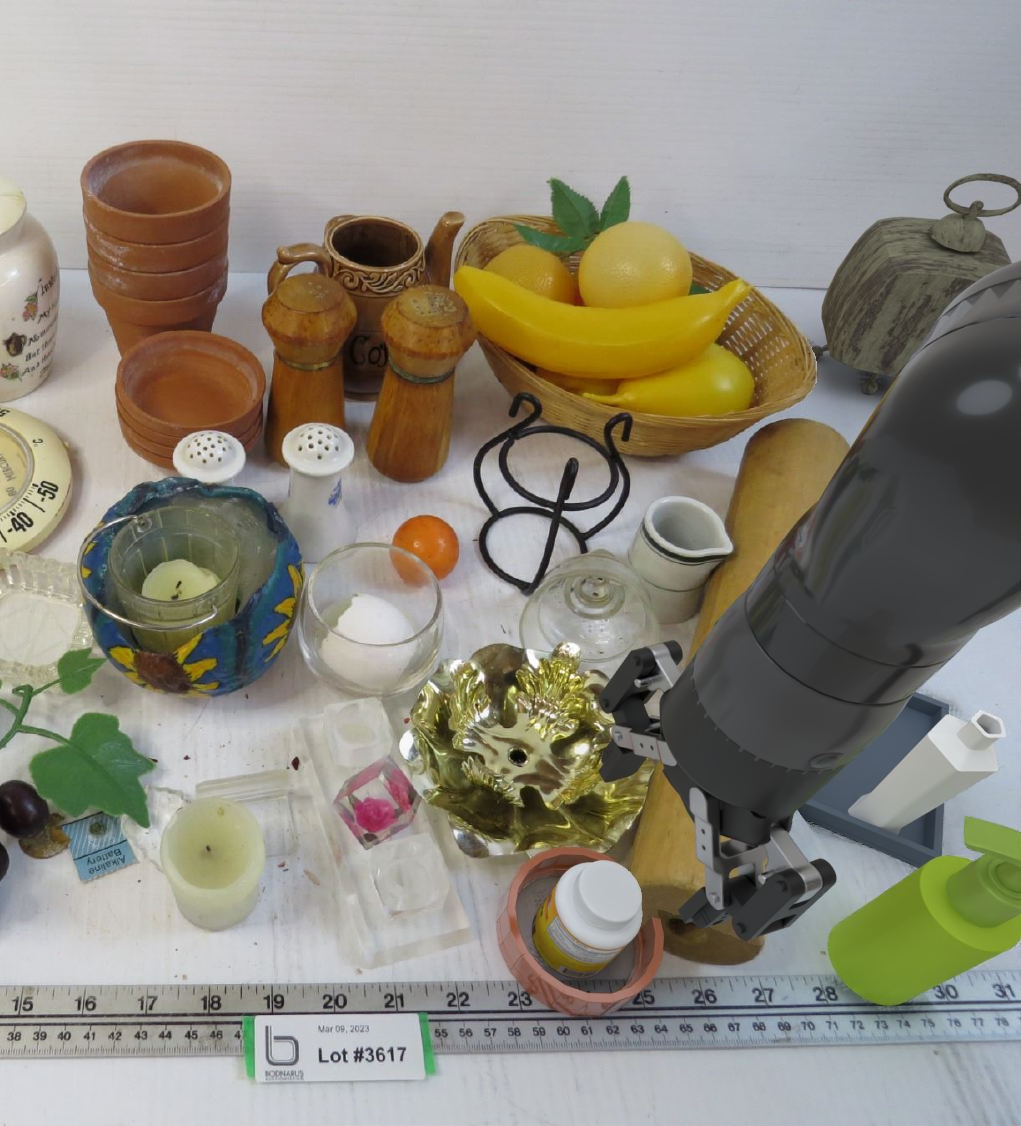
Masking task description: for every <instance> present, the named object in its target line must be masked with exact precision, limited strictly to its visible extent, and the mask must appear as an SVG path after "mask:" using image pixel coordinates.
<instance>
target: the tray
mask: <svg viewBox="0 0 1021 1126" xmlns="http://www.w3.org/2000/svg"><path fill="white" fill-rule="evenodd" d="M947 714H949V715H950V704H949V703H946V702H943V701H941V700H938V699H936V698H933V697H930V696H929V695H925V694H923V693H921V692H920V693H919V692H918V691H916V692H915V693H914V694H913V695H912V697H911V698H910V700H909V701H908V702H907V704H906V705H905V707H904V708H903V710H902V711H901V713H900V714H899V715H898V716H897V718H896V719H895V720H894V721H893V722H892V723H891V725H890V726H889V727H888V728H887V729H886V730H885V731H884V732H883V733H882V734H881V735H879V736H878V737H877V738H876V739H875V740H874V741H873V742H872V743H871V744H870V745H869V746H867V747H866V748H865V749H864V750H863V751H862V752H861V753H860V754H859V755H858V756H857V757H856V758H854V759H853V760H852V761H851V762H850V763H849V764H848V765H847V766H846V767H845V768H844V769H842V770H841V771H840V772H839V773H838V774H837V775H836V776H835V777H834V778H833V779H832V780H830V781H829V782H828V783H827V784H826V785H825V786H824V787H823V788H822V789H821V790H820V791H819V792H817V793H816V794H815V795H814V796H813V797H812V798H811V799H810V800H809V801H808V802H806V803H805V804H804V805H803V806H801V807H800V808H799V809H798V810H797V812H798V813H799V814H800V816H801V817H802V819H803V820H805V821H808V822H810V823H812V824H815V825H816V826H820V827H822V828H824V829H825V830H829V831H831V832H833V833H836V834H838V835H840V836H842V837H845V838H848V839H849V840H852V841H855V842H857V843H859V844H862V845H864V846H866V847H869V848H871V849H872V850H873V849H874V850H876V851H878V852H881V853H883V854H885V855H888V856H889V857H893V858H895V859H897V860H899V861H902V862H904V863H906V864H909V865H911V866H913V867H916V868H917V869H918V868H920V867H921V866H923V865H924V864H926V863H927V862H929V861H930V860H932V859H934V858H936V857H940V856H943V837H944V836H943V835H944V819H945V817H944V816H945V802H944V803H943V804H941V805H939V806H938V807H936V808H934V809H933V810H931V811H929V812H928V813H926V814H924V815H922V816H921V817H919V818H917V819H916V820H914V821H912V822H911V823H909V824H907V825H906V826H904V827H902V828H901V830H900V832H899V834H898V835H896V834H893V833H891V832H889V831H886V830H884V829H881V828H879V827H877V826H874V825H872V824H870V823H867V822H865V821H862V820H860V819H858V818H855V817H853V816H850V814H849V813H848V809H849V808H850V807H851V806H852V805H853V804H854V803H855V802H856V801H857V800H858V799H859V798H860V797H861V796H863V795H866V794H869V793H871V792H872V791H873V790H874V789H875V788H876V787H877V786H878V785H879V784H880V783H881V782H882V781H883V780H884V779H885V777H886V776H887V775H888V774H889V773H890V772H891V771H892V770H893V769H894V768H895V767H896V766H897V765H898V764H899V763H900V762H901V761H902V760H903V759H904V758H905V757H906V756H907V755H908V753H909V752H910V751H911V750H912V749H913V748H914V747H915V746H916V745H917V744H918V743H919V742H920V741H921V740H922V739H923V738H924V737H925V736H926V735H927V734H928V733H929V732H930V731H931V730H932V729H933V728H934V727H935V726H936V725H937V724H938V723H939V722H940V721H941V720H942V719H943V718H944V717H945V715H947Z"/></svg>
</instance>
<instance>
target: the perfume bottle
mask: <svg viewBox="0 0 1021 1126" xmlns="http://www.w3.org/2000/svg"><path fill="white" fill-rule="evenodd" d="M1004 738H1007V732H1006V728H1005V723H1004V721H1003V720H1002V719H1001V718H1000V717H998V716H996V715H994V714H992V713H989V712H987V711H985V710H983V709H980V710H978V711H977V712H976V713H975V714H974V715H972V717H971V718H970V720H969V721H968V722H967V721H965V720H962V719H961V718H958V717H956V716H954V715H952V714H950V713H949V714H947V715H945V717H944V718H943V719H942V720H941V721H940V722H939V723H938V724H937V725H936V726H935V727H934V728H933V729H932V730H931V731H930V732H929V733H928V734H927V735H926V736H925V737H924V738H923V739H922V740H921V741H920V742H919V743H918V744H917V745H916V746H915V747H914V748H913V749H912V750H911V751H910V752H909V753H908V755H907V756H906V757H905V758H904V759H903V760H902V761H901V762H900V763H899V764H898V765H897V766H896V767H895V768H894V769H893V770H892V771H891V772H890V773H889V774H888V775H887V776H886V777H885V779H884V780H883V781H882V782H881V783H880V784H879V785H878V786H877V787H876V788H875V789H874V790H873V791H872V792H871V793H869V794H866V795H863V796H861V797H860V798H859V799H858V800H857V801H856V802H855V803H854V804H853V805H852V806H851V807H850V808H849V809H848V813H849V814H850V816H853V817H855V818H858V819H860V820H862V821H865V822H867V823H870V824H872V825H874V826H877V827H879V828H881V829H884V830H886V831H889V832H891V833H893V834H896V835H898V834H899V832H900V830H901V828H902V827H904V826H906V825H907V824H909V823H911V822H912V821H914V820H916V819H917V818H919V817H921V816H922V815H924V814H926V813H928V812H929V811H931V810H933V809H934V808H936V807H938V806H939V805H941V804H943V803H944V804H945V803H946V802H948V801H950V800H951V799H954V797H956V796H958V795H960V794H961V793H963V792H965V791H967V790H968V789H971V788H972V787H973V786H975V785H976V784H978V783H980V782H982V781H983V780H986V779H987V778H989V777H990V776H992V775H994V774H995V773H997V772H998V771H999V770H1000V766H999V762H998V756H997V752H996V747H995V743H996V742H997V741H998V740H1000V739H1004Z"/></svg>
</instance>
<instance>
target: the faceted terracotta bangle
mask: <svg viewBox="0 0 1021 1126" xmlns="http://www.w3.org/2000/svg"><path fill="white" fill-rule="evenodd" d="M601 860H607V861H612V862H615V863H618V864H620V865H622V866H623V867H625V868H626V869H627V870H629V868H627V867H626V866H624V865H623V864H621V863H619V862H618V861H616V860H615V859H614V858H612V857H610V856H608V855H607V854H604V853H602V852H600V851H599V852H598V851H595V850H592V849H589V848H586V847H582V846H557V847H553V848H548V849H547V850H546V849H545V850H544V851H540V852H538V853H536V854H535V855H534V856H533V857H531V858H530V859H528V860H527V861H526V862H525V863H523V864H522V865H521V866H520V868H519V870H518V871H517V872H516V874H515V876H514V877H513V879H512V880H511V882H510V884H509V885H508V887H507V889H506V890H505V892H504V894H503V895H502V897H501V899H500V901H499V903H498V908H497V909H498V910H497V915H496V920H495V929H496V937H497V943H498V944H497V945H498V948H499V951H500V953H501V956H502V959H503V960H504V962H505V965H506V967H507V969H508V971H509V973H510V974H511V975H512V976H513V978H514V979H515V980H516V982H517V983H518V985H520V986H521V987H522V989H523V990H524V991H525V992H526V993H527V994H528V995H530V996H531V997H532V998H534V999H535V1000H537V1001H538V1002H539V1003H541V1004H542V1005H543V1006H545V1007H546V1008H548V1009H550V1010H553V1011H556V1012H559V1013H562V1014H564V1015H567V1016H571V1017H574V1018H600V1017H603V1016H604V1015H608V1014H611V1013H613V1012H617V1011H619V1010H621V1009H622V1008H623V1007H624V1006H626V1005H627V1004H628V1003H629V1002H630V1001H631V1000H632V999H633V998H635V997H636V996H638V995H639V993H641V991H643V990H644V989H645V988H646V987H647V986H648V985H650V983H652V982H653V980H654V979H655V977H656V975H657V972H658V970H659V968H660V966H661V964H662V962H663V958H664V957H663V956H664V944H665V943H664V941H665V933H664V929H663V926H662V921H661V918H660V919H657V918H654V917H651V918H650V919H649V920H647V922H646V924H645V925H643V926H642V928H641V929H639V931H638V933H637V934H636V936H635V937H634V938H633V939H632V943H633V948H634V953H633V963H632V970H631V971H630V974H629V976H628V978H627V980H626V982H625V984H624V985H623V987H621V988H620V989H619V990H615V991H612V992H610V993H609V992H587V991H584V990H581V989H579V988H575V987H572V986H570V985H567V984H565V983H563V982H562V981H560V980H559V979H558V978H556V977H555V976H553V975H552V974H550V973H549V972H547V971H546V970H545V969H544V968H543V966H541V964H540V963H539V962H538V961H537V960H536V958H535V957H534V956H533V955H532V954H531V952H530V950H529V949H528V947H527V945H526V942H525V940H524V938H523V936H522V934H521V931H520V929H519V927H520V926H519V922H518V921H519V920H518V914H517V903H518V897H519V895H520V893H521V892H522V891H523V890H524V889H527V887H528V886H530V885H531V884H532V883H534V882H537V881H539V880H543V879H546V878H549V877H560V878H561V877H562V876H563V874H564V873H565V872H566V871H568V870H569V869H570V868H572V867H573V866H576V865H578V864H582V863H588V862H595V861H601Z"/></svg>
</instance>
